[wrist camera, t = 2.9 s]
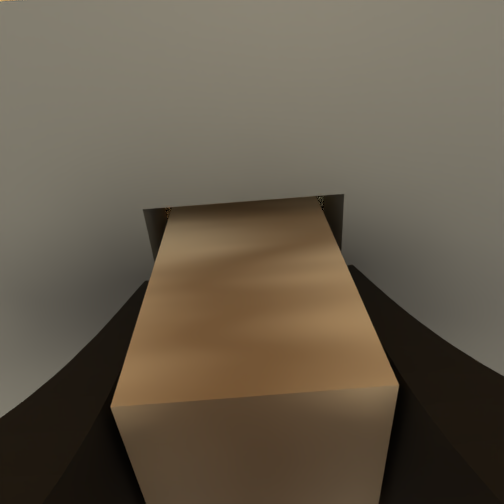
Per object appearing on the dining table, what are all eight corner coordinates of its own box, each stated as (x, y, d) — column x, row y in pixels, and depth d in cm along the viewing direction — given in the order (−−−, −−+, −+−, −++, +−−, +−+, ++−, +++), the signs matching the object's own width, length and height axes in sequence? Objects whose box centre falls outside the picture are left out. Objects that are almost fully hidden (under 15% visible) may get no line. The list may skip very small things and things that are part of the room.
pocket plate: (638, -43, 10) (749, -57, 8) (497, 367, 17) (535, 418, 15) (-184, 21, 10) (-299, 25, 8) (22, 403, 17) (-9, 460, 15)
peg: (308, 177, 12) (399, 385, 6) (307, 284, 15) (373, 530, 8) (177, 188, 13) (110, 406, 6) (195, 292, 15) (162, 547, 8)
